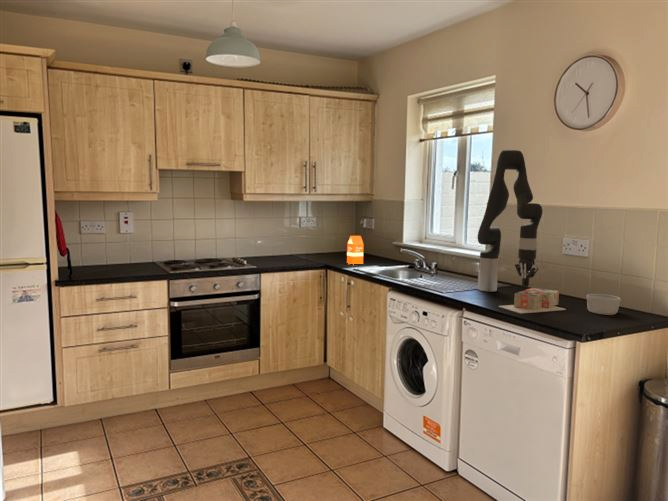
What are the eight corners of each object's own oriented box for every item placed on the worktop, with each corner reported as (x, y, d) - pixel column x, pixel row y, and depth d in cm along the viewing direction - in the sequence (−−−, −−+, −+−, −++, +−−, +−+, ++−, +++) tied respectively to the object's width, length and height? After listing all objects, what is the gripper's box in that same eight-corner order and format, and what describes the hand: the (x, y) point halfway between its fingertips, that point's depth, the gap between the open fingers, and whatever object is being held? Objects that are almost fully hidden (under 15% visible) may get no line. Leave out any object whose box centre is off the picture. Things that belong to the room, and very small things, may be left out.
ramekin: (623, 312, 230) (624, 296, 229) (615, 317, 220) (616, 300, 220) (590, 307, 239) (591, 292, 238) (581, 312, 229) (582, 296, 228)
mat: (498, 306, 236) (498, 305, 236) (542, 303, 245) (542, 302, 245) (520, 313, 223) (520, 312, 223) (565, 309, 232) (566, 309, 232)
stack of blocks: (513, 306, 235) (541, 311, 226) (514, 293, 234) (542, 297, 226) (532, 300, 250) (558, 304, 242) (532, 287, 250) (559, 291, 242)
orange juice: (363, 264, 370) (363, 236, 368) (352, 265, 366) (353, 236, 364) (357, 263, 377) (357, 235, 375) (346, 263, 373) (347, 235, 370)
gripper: (510, 246, 241) (508, 284, 243) (531, 249, 229) (529, 289, 231) (523, 246, 244) (521, 283, 246) (545, 249, 231) (542, 288, 233)
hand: (525, 286), depth 238 cm, fingers closed
